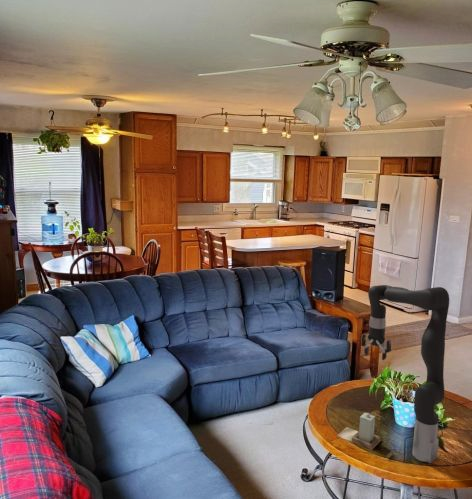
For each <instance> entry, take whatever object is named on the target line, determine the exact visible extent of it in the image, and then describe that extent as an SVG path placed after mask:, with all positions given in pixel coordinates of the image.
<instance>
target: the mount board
mask: <svg viewBox="0 0 472 499" xmlns="http://www.w3.org/2000/svg"><path fill="white" fill-rule="evenodd" d="M337 437H338V438H342V439H344V440H346V441H348V442H351V443H354V444H356V445H357V446H358V445H359V446H361V447H363V448H366V449H367V450H371V451H372V450H373V449H374V448H375V447H376V446H377V445H378V444H379V443H380V442H381V436H379V435H376V434H374V440H373V441H372V442H371V443H368V442H365V441H363V440H360V439H359V430H356V429H353V428H351V427H348V426H346V427H345V428H344V429H343V430H341V431H340V432H339V433H338V434H337Z"/></svg>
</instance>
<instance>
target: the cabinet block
mask: <svg viewBox="0 0 472 499" xmlns="http://www.w3.org/2000/svg"><path fill="white" fill-rule="evenodd" d="M375 421H376V416H375V415H373V414H370V413H369V412H363V414H361V415H360V416H359V428H358V431H359V439H360V440H363V441H365V442H368V443H371V442H372V441H373V440H374V435H375Z"/></svg>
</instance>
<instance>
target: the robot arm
mask: <svg viewBox="0 0 472 499" xmlns="http://www.w3.org/2000/svg"><path fill="white" fill-rule="evenodd" d="M368 300H369V306H370V318H369V322H368V323H369V325H368V334H367V333H363V334H362V335H361V343H360V346H361V347H363V348H364V355H365V356H368V355H369V353H370V352H369V350H370V346H375V347H378V348H379V349H380V350H381V351H382V355H381V356H382V357H381V360H382V361H385V360H386V359H387V354H389V353H390V352H392V340H391V339H386V338H385V337H386V334H385V333H386V327H387V325H386V324H387V323H386V322H387V321H386V317H387V316H386V314H387V307H386V306H385V304H382V303H381V302H380V301H381V300H382V301H384V300H385V301H386V300H387V301H388V302H391V303H398V304H399V303H400V304H406V305H411V306H414V307H417V308H420V309H422V310H426V311H431V314H430V315H431V316H430V320H429V321H428V324H427V325H426V328H425V330H424V331H423V334H422V337H421V344H420V356H421V358H422V360H423V362H424V365H425V367H426V381H425V383H424V384H421V385H419V386H417V387H416V388H415V391H414V398H413V411H414V415H415V418H414V431H413V439H412V440H413V442H412V456H413V457H414V458H415V459H416V460H418V461H420V462H424V463H428V464H432V463H433V462H434V461H435V460H437V458H438V450H439V441H440V439H439V437H438V430H439V420H440V419H439V418H440V416H439V414H438V413H437V412H435V406H437V405H438V404H440V403H442V402H443V400H444V399H445V382H444V380H445V379H444V366H445V351H446V350H445V348H446V331H447V318H448V314H449V307H450V295H449V292H448V290H447V289H446V288H445V287H440V286H437V287H435V286H434V287H429V288H425V289H419V290H410V289H407V288H406V287H405V288H404V287H399V286H392V285H388V284H380V285H373V286H370V288H369V289H368ZM367 339H368V342H367V343H366V341H367Z"/></svg>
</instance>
